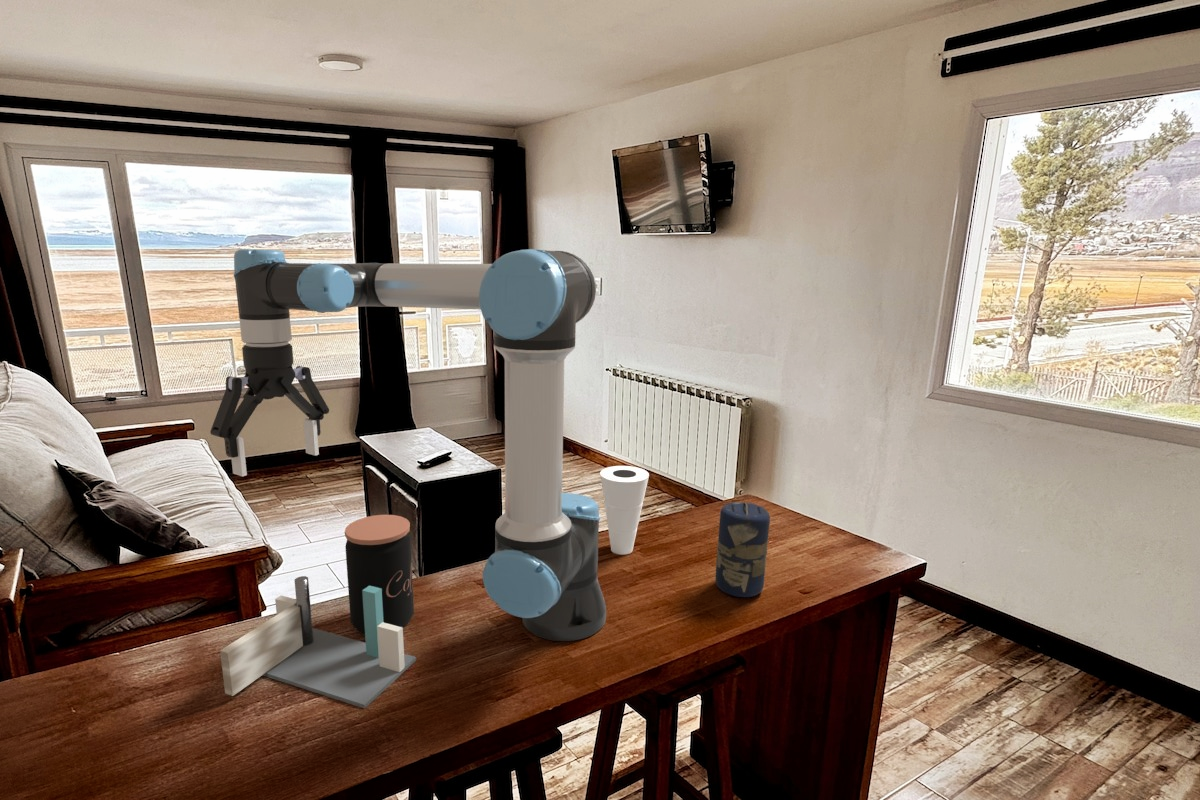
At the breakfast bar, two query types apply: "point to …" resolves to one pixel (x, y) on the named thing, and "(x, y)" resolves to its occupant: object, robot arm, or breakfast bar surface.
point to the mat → (337, 669)
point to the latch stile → (372, 618)
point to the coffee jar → (380, 567)
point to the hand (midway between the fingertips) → (278, 463)
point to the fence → (387, 639)
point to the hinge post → (304, 608)
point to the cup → (623, 504)
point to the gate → (261, 650)
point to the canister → (742, 549)
